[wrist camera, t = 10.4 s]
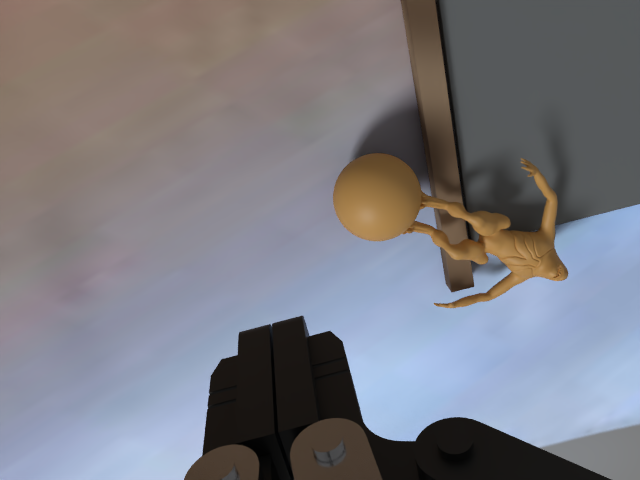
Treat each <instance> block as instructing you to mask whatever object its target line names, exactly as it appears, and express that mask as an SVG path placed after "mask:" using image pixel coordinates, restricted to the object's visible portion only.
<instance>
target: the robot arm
mask: <svg viewBox="0 0 640 480" xmlns="http://www.w3.org/2000/svg"><path fill="white" fill-rule="evenodd" d="M209 394H210V396H209V399H208V409H207V417H206V427H205V436H204V445H203V455H202V457H200V458H199V459H198V460H197V461H196V462H195V463H194V464H193V465H192V466H191V468H190V469H189V470H188V472H187V474H186V476H185V478H184V480H611V479H609V478H606V477H604V476H602V475H599V474H597V473H595V472H593V471H590V470H588V469H586V468H583V467H581V466H579V465H577V464H574V463H572V462H570V461H567V460H565V459H563V458H561V457H558V456H556V455H554V454H552V453H549V452H547V451H545V450H542V449H540V448H538V447H536V446H533V445H531V444H529V443H526V442H524V441H522V440H520V439H517V438H515V437H513V436H510V435H508V434H506V433H504V432H501V431H499V430H497V429H494V428H492V427H490V426H488V425H485V424H483V423H481V422H478V421H476V420H473V419H468V418H461V417H454V418H446V419H442V420H439V421H436V422H434V423H432V424H431V425H429V426H427V427H426V428H425V429H424V430H423V431H422V432H421V433H420V434H419V436H418V437H417V439H416V441H393V440H388V439H385V438H382V437H379V436H377V435H375V434H374V433H373V432H371V431H370V430H369V429H368V428H367V427H366V425H365V424H364V422H363V419H362V415H361V411H360V407H359V403H358V399H357V395H356V392H355V388H354V384H353V380H352V376H351V373H350V369H349V365H348V361H347V357H346V354H345V350H344V346H343V342H342V341H341V340H340V339H339V338H338V337H337V336H335V335H334V334H333V333H332V332H331V331H328V332H324V333H320V334H316V335H312V336H309V333H308V330H307V326H306V323H305V320H304V317H303V316H299V317H295V318H292V319H288V320H284V321H280V322H276V323H273V324H272V326H271V325H270V324H269V325H265V326H261V327H258V328H254V329H250V330H246V331H242V332H239V339H238V355H237V356H233V357H229V358H225V359H221V361H220V362H219V364H218V366H217V367H216V369H215V370H214V372H213V374H212V375H211V380H210V389H209Z"/></svg>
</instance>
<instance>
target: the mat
mask: <svg viewBox="0 0 640 480" xmlns="http://www.w3.org/2000/svg"><path fill="white" fill-rule="evenodd" d="M437 7H438V14H439V22H440V29H441V37H442V44H443V51H444V59H445V66H446V73H447V81H448V88H449V95H450V103H451V110H452V117H453V125H454V132H455V140H456V147H457V154H458V162H459V169H460V176H461V184H462V191H463V198H464V206H465V209H466V211H467V212H469V213H473V212H477V211H487V212H490V213H499V214H502V215H505V216H507V217H508V218H509V219H510V222H511V225H510V226H509V227H508V228H506V229H504V230H508V231H512V230H516V231H523V232H530V231H534V230H538V229H539V228H540V226H541V223H542V217H543V212H544V207H545V204H546V200H547V198H546V197H545V196H544V195H543V193H542V191H541V190H540V189H539V188H538V186H537V184H536V182H535V179H534V176H532V177H528V175H529V174H530V172H529V171H527V170H525V169H523V168H521V167H527V166H526V165H524V164H523V163H521V161H523V160H521V158H523V159H526V160H528V161H529V162H531V163H532V164H533V165H535V166H536V167H537V168H538V169H539V171H540V172H541V174H542V175H543V176H544V177H545V178H546V180H547V183H548V185H549V186H550V188H551V189H552V190H553V191H554V192H555V193H556V195H557V200H558V205H557V215H556V220H555V225H558V224H562V223H566V222H570V221H574V220H578V219H582V218H586V217H590V216H594V215H598V214H602V213H606V212H610V211H614V210H617V209H621V208H625V207H629V206H633V205H637V204H640V0H437ZM524 162H525V161H524ZM467 228H468V235H469V239H470V240H473V241H475V242H477V241H478V239H479V233H477V232H476V231H475V230H474V229H473V227H472V225H471V224H470V223H469V222H468V221H467Z"/></svg>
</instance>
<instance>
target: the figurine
mask: <svg viewBox="0 0 640 480" xmlns="http://www.w3.org/2000/svg"><path fill="white" fill-rule="evenodd" d="M521 160H523V161H521V163H523V164H524V165H526V166H527V167H521V168H523V169H525V170H527V171H529V172H530V174H529V175H528V177H532V176H534V179H535V182H536V184H537V186H538V188H539V189H540V190H541V191H542V193H543V195H544V196H545V197H546V198H547V200H546V204H545V207H544V212H543V217H542V223H541V226H540V228H539V230H538V231H536V232H523V231H516V230H512V231H508V230H504V229H506V228H508V227H509V226H510V225H511V222H510V219H509V218H508V217H507V216H505V215H502V214H499V213H490V212H487V211H477V212H473V213H469V212H467V211H466V209H465V207H464V206H463V205H462V204H461V203H459V202H447V201H445V200H442V199H439V198H435V197H431V196H428V195H426V194H425V193H423V192H422V190H421V188H420V184H419V181H418V179H417V177H416V175H415V173H414V172H413V170H412V169H411V168H410V167H409V166H408V165H407V164H406V163H405V162H403V161H402V160H400V159H399V158H397V157H395V156H392V155H389V154H383V153H372V154H367V155H363V156H361V157H359V158H357V159H355V160H353V161H352V162H350V163H349V164H348V165H347V166H346V167H345V168H344V169H343V170H342V172H341V173H340V175H339V177H338V179H337V181H336V184H335V187H334V193H333V202H334V208H335V211H336V214H337V216H338V218H339V220H340V222H341V223H342V224H343V226H344V227H345V228H346V229H347V230H348V231H349V232H351V233H352V234H354V235H355V236H357V237H359V238H362V239H365V240H369V241H385V240H389V239H392V238H395V237H397V236H399V235H400V234H405V233H407V232H408V233H412V232H419V233H425V234H429V235H430V236H431V238H432V241H433V242H434V243H435V244H436V245H437V246H439V247H442V248H443V249H444V250H445V251H446V252H447V253H448V254H449V255H450V256H451V257H452V258H453V259H455V260H472V261H474V262H476V263H478V264H486V263H487V262H488V256H487V255H486V253H490V254H493V255H495V256H497V257H498V258H499V259H500V260H501V261H502V262H503V263H504V264H505V265H506V266H507V267H508V268H509V269H510V270H511V271H512V272H511V273H510V274H509V275H508V276H506V277H505V278H504V279H502V280H501V281H500V282H498V283H497V284H496V285H494V286H493V287H492V288H491V289H490V290H489V291H488V292H486V293H479V294H475V295H471V296H467V297H464V298H461V299H459V300H457V301H455V302H452V303H448V304H440V303H439V304H437V303H434V304H435V305H436V306H439V307H445V308H457V307H464V306H468V305H471V304H474V303H477V302H484V301H489V300H492V299H494V298H496V297H498V296H500V295H502V294H503V293H505V292H506V291H508V290H509V289H510V288H512V287H513V286H515V285H517V284H520V283H522V282H524V281H525V280H527V279H529V278H532V277H543V278H546V279H550V280H554V281H562V280H565V279H566V278H567V277H568V271H567V268H566V267H565V265H564V264H563V263H562V261H561V260H560V258H559V257H558V255H557V253H556V250H555V248H554V247H555V246H554V239H555V220H556V215H557V205H558V200H557V195H556V193H555V192H554V191H553V190H552V189H551V188H550V186H549V185H548V183H547V180H546V178H545V177H544V176H543V175H542V174H541V172H540V171H539V169H538V168H537V167H536V166H535V165H533V164H532V163H531V162H529V161H528V160H526V159H523V158H521ZM524 161H525V162H524ZM425 207H433V208H437V209H445V210H447V211H448V212H449V214H450V215H451V216H453V217H456V218H462V219H464V220H466V221H468V222H469V223H470V224H471V225H472V227H473V229H474V230H475V231H476V232H477V233H479V239H478V241H477V242H475V241H473V240H470V239H464V240H462V241H461V242H460V243H458V244H450V243H449V239H448V237H447V235H446V234H445V233H444V232H443V231H441V230H437V229H435V228H434V227H432V226H430V225H427V224H424V223H420V222H417V221H415V219H416V217H417V215H418V213H419V210H420V209H423V208H425Z"/></svg>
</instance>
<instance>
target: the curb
mask: <svg viewBox="0 0 640 480" xmlns="http://www.w3.org/2000/svg"><path fill="white" fill-rule="evenodd" d="M401 4H402V10H403V17H404V23H405V29H406V36H407V42H408V48H409V54H410V61H411V67H412V73H413V80H414V86H415V92H416V98H417V105H418V111H419V117H420V124H421V130H422V136H423V142H424V149H425V155H426V161H427V168H428V174H429V180H430V187H431V193H432V197H435V198H439V199H442V200H445V201H447V202H459V203H461V204H462V205H463V201H462V193H461V186H460V179H459V172H458V164H457V157H456V150H455V142H454V135H453V128H452V120H451V113H450V106H449V99H448V91H447V84H446V77H445V69H444V62H443V55H442V47H441V40H440V33H439V25H438V18H437V11H436V4H435V0H401ZM434 212H435V218H436V224H437V230H441V231H443V232H444V233H445V234H446V235H447V237H448V239H449V243H450V244H458V243H460V242H461V241H462V240H464V239H468V237H467V230H466V223H465V220H464V219H462V218H456V217H453V216H451V215H450V214H449V212H448V211H447V210H445V209H437V208H434ZM440 249H441V256H442V262H443V268H444V275H445V281H446V284H447V286H448V287H449V289H450V290H451V292H455V291H459V290H463V289H467V288H471V287H474V281H473V274H472V266H471V260H455V259H453V258H452V257H451V256H450V255H449V254H448V253H447V252H446V251H445V250H444V249H443V248H442V247H440Z"/></svg>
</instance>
